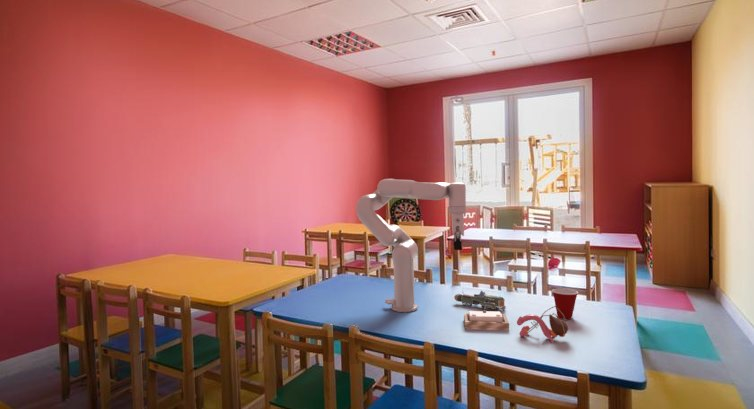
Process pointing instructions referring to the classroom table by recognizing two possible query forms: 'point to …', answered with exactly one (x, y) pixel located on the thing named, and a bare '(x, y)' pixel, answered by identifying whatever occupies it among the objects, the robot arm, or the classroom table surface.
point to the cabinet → (486, 324)
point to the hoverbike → (481, 300)
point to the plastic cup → (565, 302)
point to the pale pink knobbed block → (485, 316)
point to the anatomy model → (556, 325)
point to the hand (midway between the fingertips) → (457, 247)
